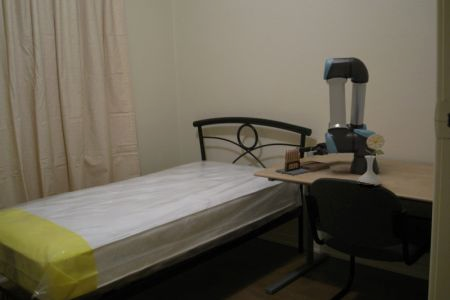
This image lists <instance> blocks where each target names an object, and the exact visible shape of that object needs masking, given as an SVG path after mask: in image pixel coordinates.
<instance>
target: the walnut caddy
mask: <svg viewBox="0 0 450 300" xmlns="http://www.w3.org/2000/svg"><path fill="white" fill-rule="evenodd" d="M330 166H331V165H330V162H321V161H317V160H308V161H302V162H300V168H301V169H306V170H310V172H309V173H311V172H315V171H321V169H322V170H325V169H326V170H327V169H330V168H331V167H330Z"/></svg>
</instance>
